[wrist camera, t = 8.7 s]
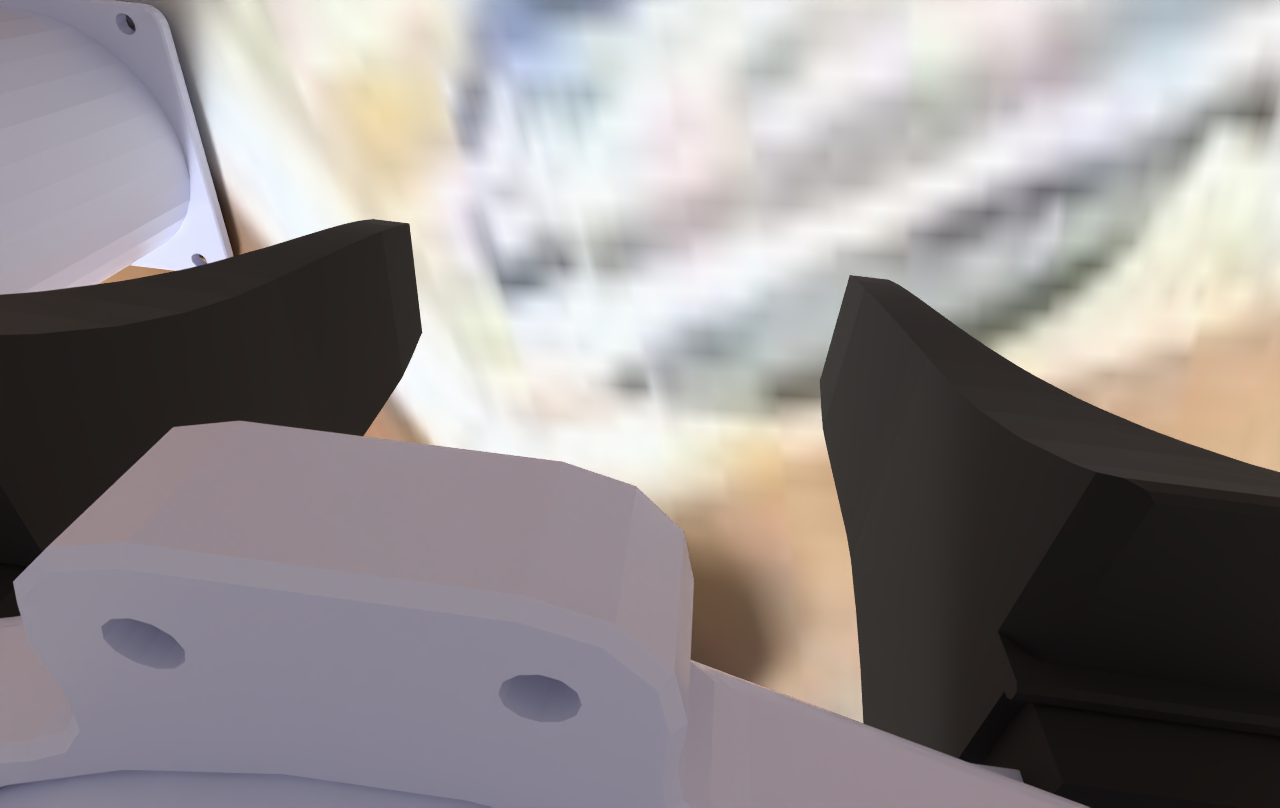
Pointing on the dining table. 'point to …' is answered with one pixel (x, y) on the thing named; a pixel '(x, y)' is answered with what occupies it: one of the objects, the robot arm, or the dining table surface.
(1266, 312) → the dining table surface
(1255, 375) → the dining table surface
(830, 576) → the dining table surface
